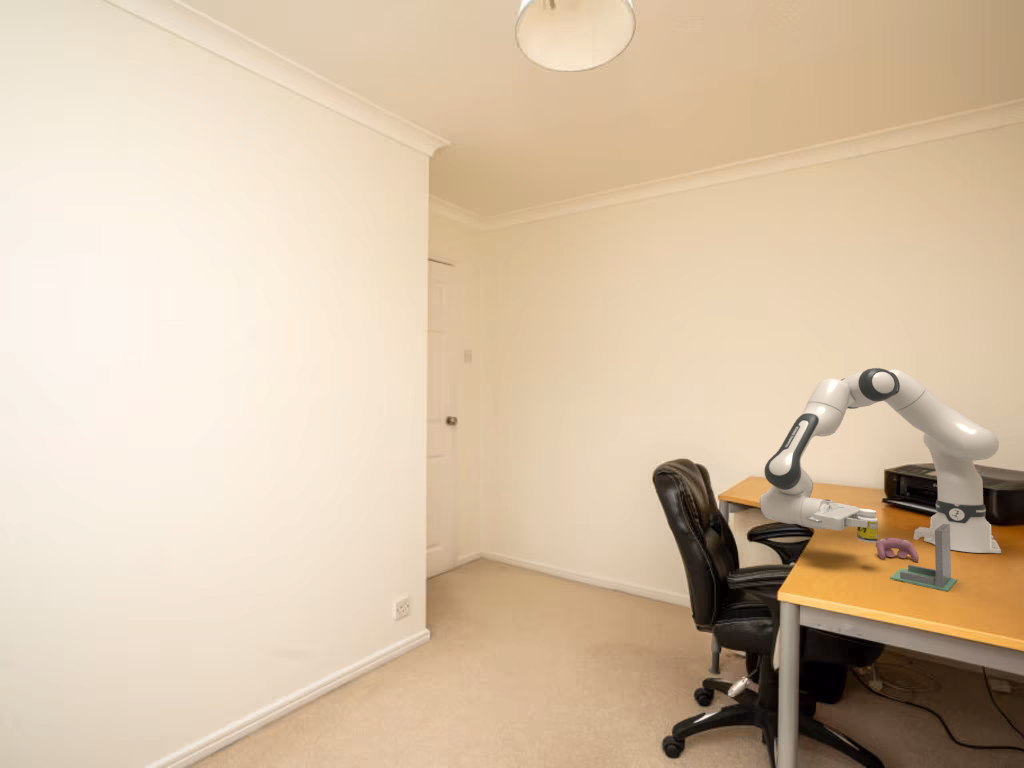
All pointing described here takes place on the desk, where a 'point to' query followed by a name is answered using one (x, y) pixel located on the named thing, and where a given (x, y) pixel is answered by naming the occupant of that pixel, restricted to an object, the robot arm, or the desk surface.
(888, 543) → the video game controller
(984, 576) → the desk surface
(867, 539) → the supplement bottle
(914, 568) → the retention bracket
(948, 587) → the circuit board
